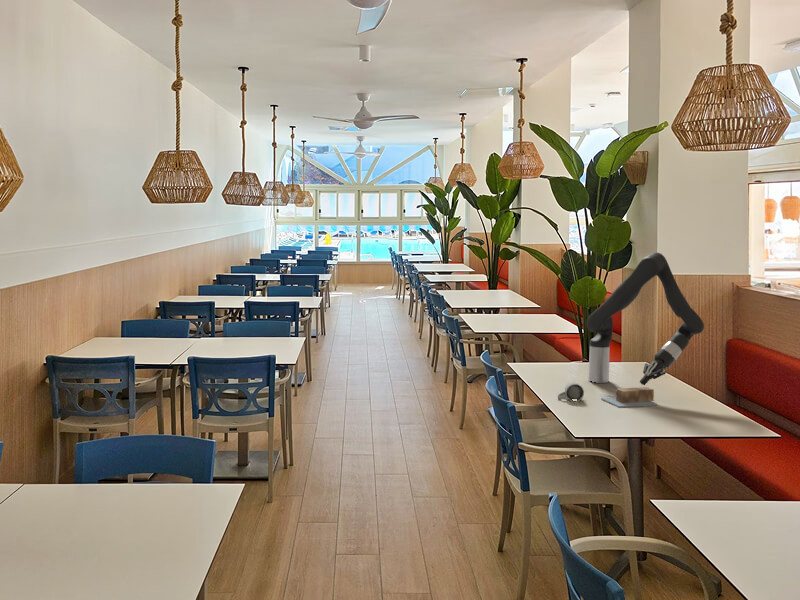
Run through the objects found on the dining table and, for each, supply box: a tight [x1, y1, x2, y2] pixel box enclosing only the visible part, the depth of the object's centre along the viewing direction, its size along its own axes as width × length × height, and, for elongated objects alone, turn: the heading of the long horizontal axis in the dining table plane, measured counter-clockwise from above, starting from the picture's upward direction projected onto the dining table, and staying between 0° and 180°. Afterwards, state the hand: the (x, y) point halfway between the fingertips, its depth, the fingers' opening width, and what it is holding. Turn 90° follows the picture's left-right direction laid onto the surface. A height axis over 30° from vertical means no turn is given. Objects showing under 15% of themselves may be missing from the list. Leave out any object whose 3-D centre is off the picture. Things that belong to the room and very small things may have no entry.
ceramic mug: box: [556, 381, 585, 402], centre depth 311 cm, size 11×8×8 cm
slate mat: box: [600, 396, 658, 409], centre depth 307 cm, size 18×14×1 cm
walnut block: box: [615, 386, 655, 403], centre depth 307 cm, size 5×5×15 cm
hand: (641, 383), depth 307 cm, fingers closed
